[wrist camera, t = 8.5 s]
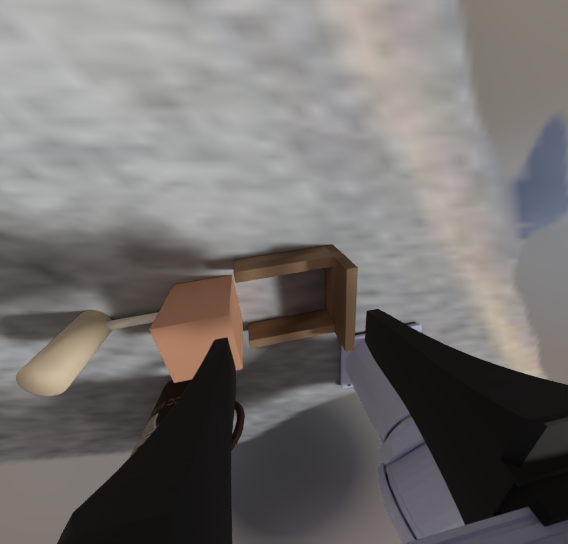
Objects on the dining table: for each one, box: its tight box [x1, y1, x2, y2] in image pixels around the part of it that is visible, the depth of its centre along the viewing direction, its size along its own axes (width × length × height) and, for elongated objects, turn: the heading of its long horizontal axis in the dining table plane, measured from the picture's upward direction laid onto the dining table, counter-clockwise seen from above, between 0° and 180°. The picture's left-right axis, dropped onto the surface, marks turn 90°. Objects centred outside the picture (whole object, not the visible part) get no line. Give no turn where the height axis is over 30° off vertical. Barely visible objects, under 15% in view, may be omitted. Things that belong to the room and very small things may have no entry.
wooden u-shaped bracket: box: [234, 245, 358, 351], centre depth 20 cm, size 9×8×5 cm
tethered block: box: [16, 275, 243, 396], centre depth 18 cm, size 14×5×6 cm, turn 96°
